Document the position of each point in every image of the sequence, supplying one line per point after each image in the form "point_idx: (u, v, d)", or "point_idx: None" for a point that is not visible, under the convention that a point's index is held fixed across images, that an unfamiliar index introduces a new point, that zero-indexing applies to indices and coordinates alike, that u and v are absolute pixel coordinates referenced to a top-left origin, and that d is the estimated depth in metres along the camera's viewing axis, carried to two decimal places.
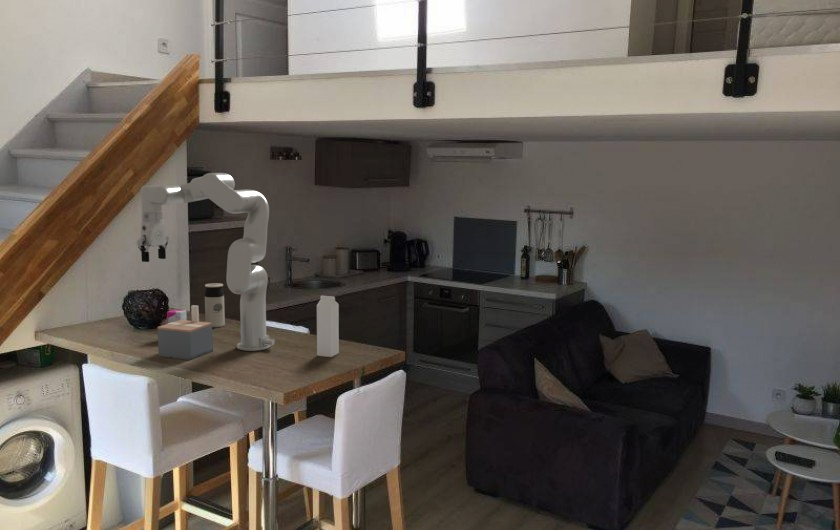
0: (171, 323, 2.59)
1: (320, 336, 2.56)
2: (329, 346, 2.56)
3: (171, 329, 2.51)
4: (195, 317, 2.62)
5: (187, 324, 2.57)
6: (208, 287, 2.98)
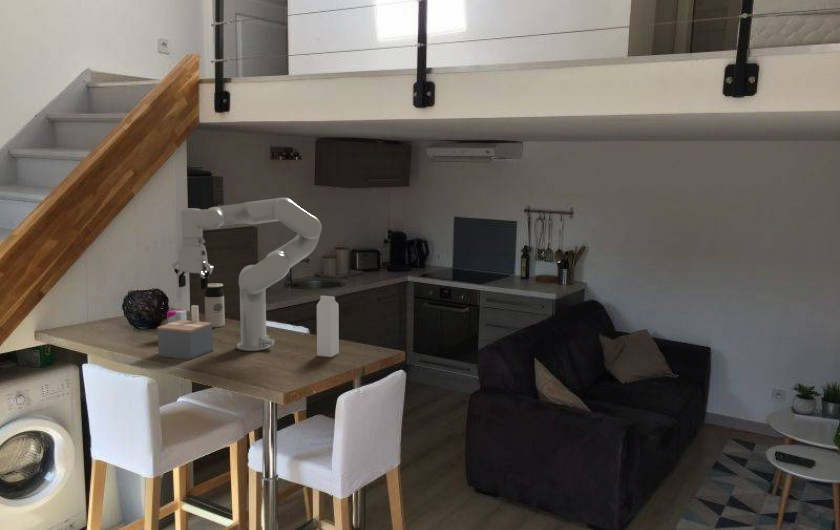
0: (171, 323, 2.59)
1: (320, 336, 2.56)
2: (329, 346, 2.56)
3: (171, 329, 2.51)
4: (195, 317, 2.62)
5: (187, 324, 2.57)
6: (208, 287, 2.98)
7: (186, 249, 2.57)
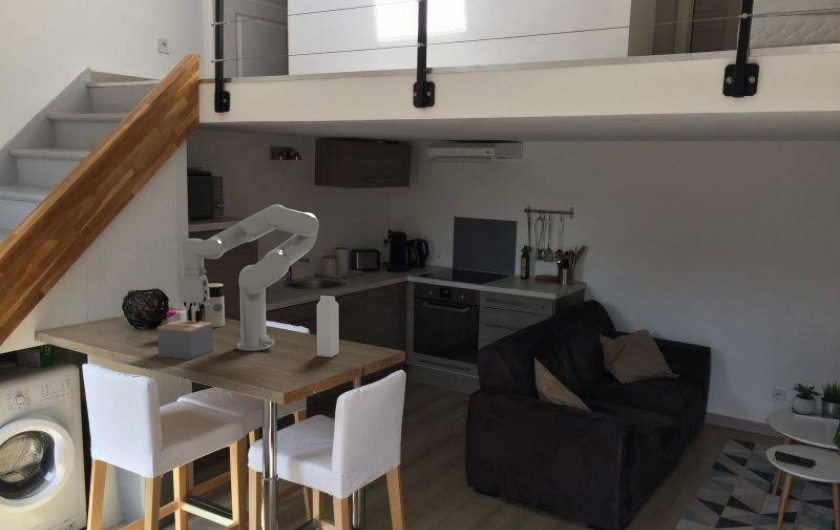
0: (171, 323, 2.59)
1: (320, 336, 2.56)
2: (329, 346, 2.56)
3: (171, 329, 2.51)
4: None
5: (187, 324, 2.57)
6: None
7: (187, 279, 2.58)
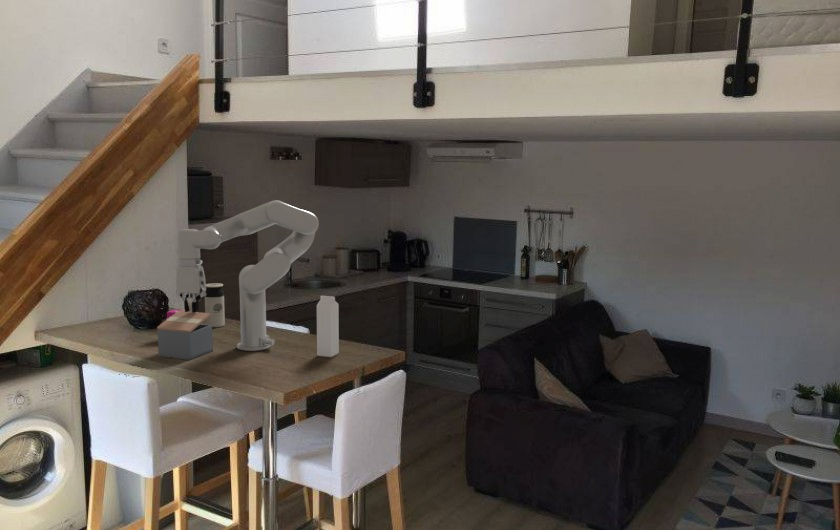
0: (170, 319, 2.58)
1: (320, 336, 2.56)
2: (329, 346, 2.56)
3: (171, 329, 2.51)
4: None
5: (186, 319, 2.56)
6: (208, 287, 2.98)
7: (184, 270, 2.56)
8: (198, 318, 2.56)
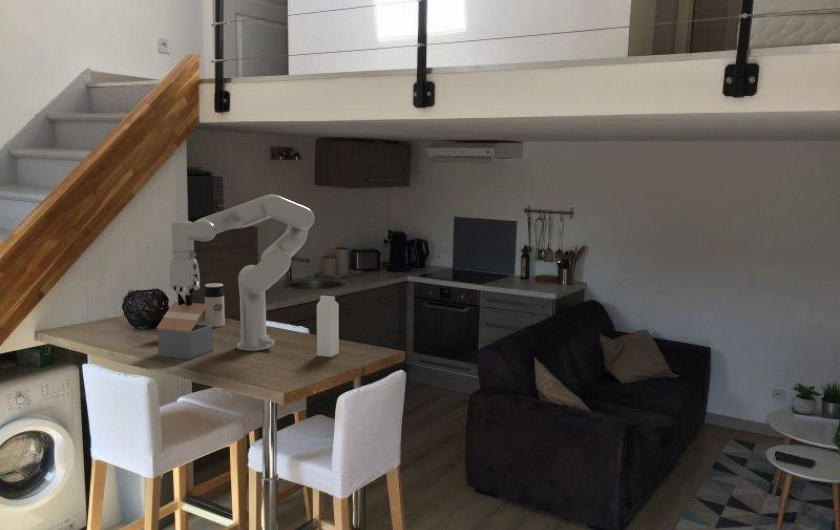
0: (167, 314, 2.56)
1: (320, 336, 2.56)
2: (329, 346, 2.56)
3: (171, 329, 2.51)
4: None
5: (183, 314, 2.55)
6: (208, 287, 2.98)
7: (177, 262, 2.52)
8: (195, 312, 2.55)
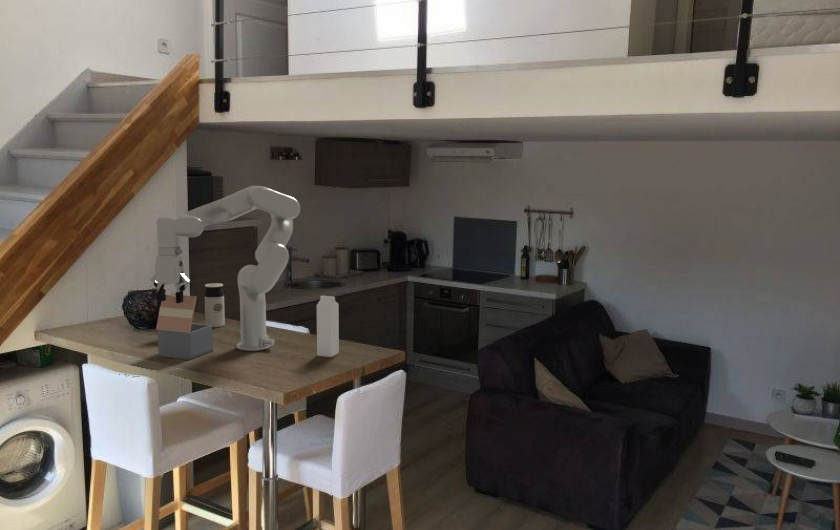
0: (161, 312, 2.53)
1: (320, 336, 2.56)
2: (329, 346, 2.56)
3: (170, 330, 2.51)
4: None
5: (177, 311, 2.51)
6: (208, 287, 2.98)
7: (162, 259, 2.44)
8: (187, 307, 2.50)
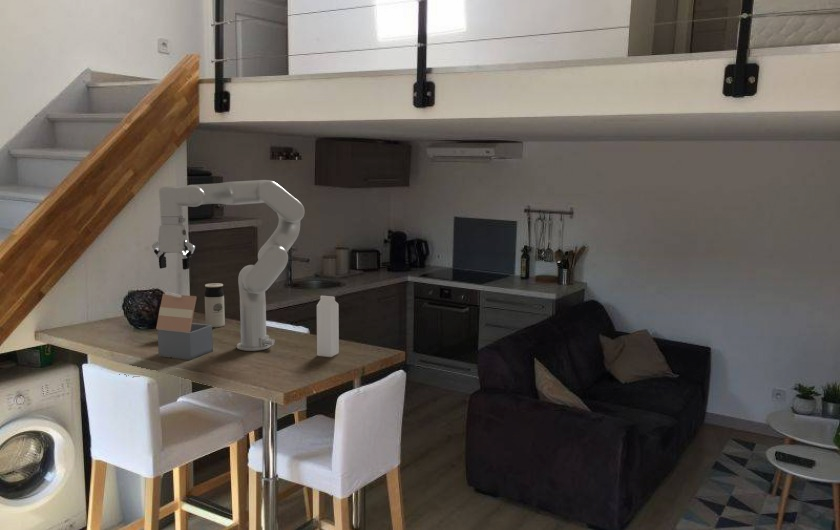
0: (161, 312, 2.53)
1: (320, 336, 2.56)
2: (329, 346, 2.56)
3: (170, 330, 2.51)
4: (176, 296, 2.51)
5: (177, 311, 2.51)
6: (208, 287, 2.98)
7: (166, 228, 2.48)
8: (187, 307, 2.50)
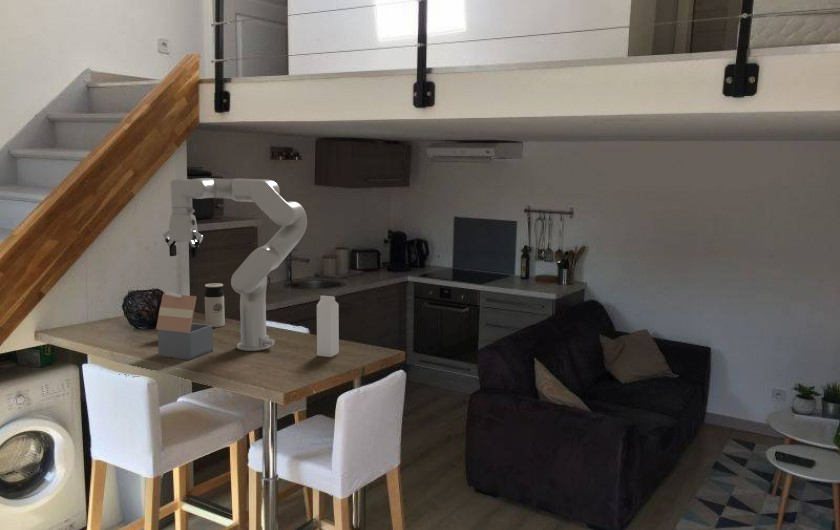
0: (161, 312, 2.53)
1: (320, 336, 2.56)
2: (329, 346, 2.56)
3: (170, 330, 2.51)
4: (176, 296, 2.51)
5: (177, 311, 2.51)
6: (208, 287, 2.98)
7: (176, 218, 2.62)
8: (187, 307, 2.50)
